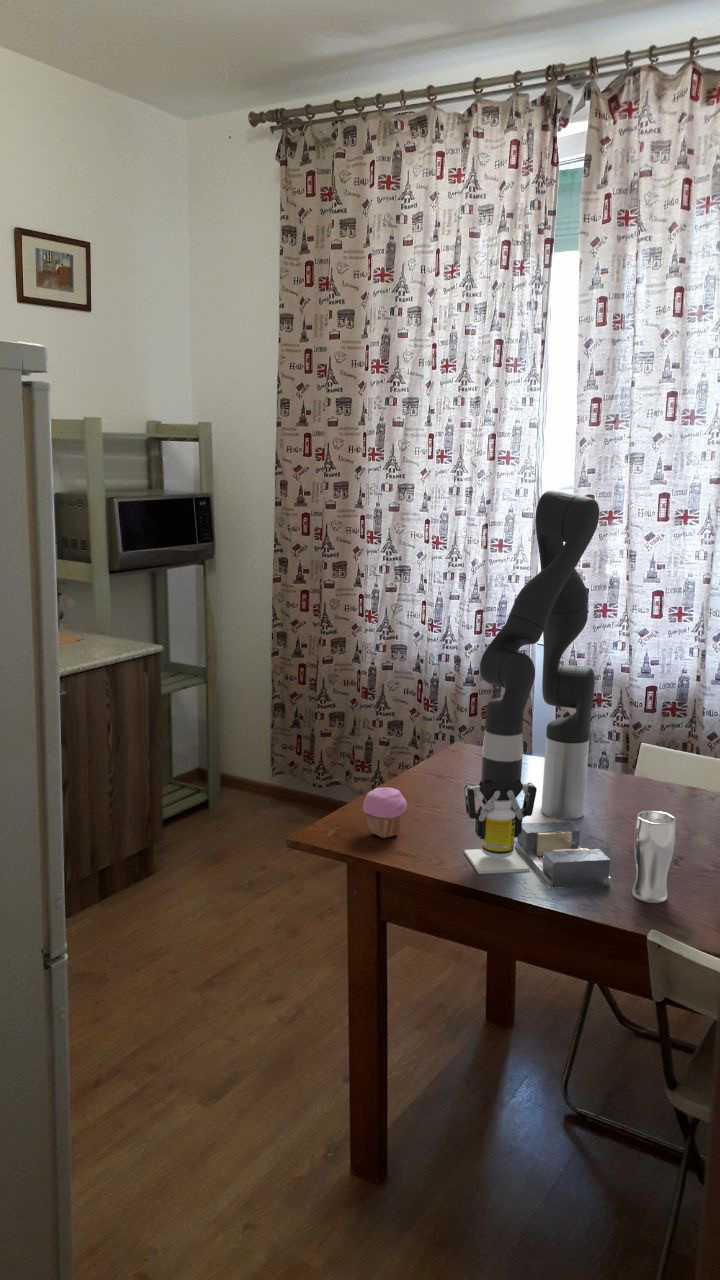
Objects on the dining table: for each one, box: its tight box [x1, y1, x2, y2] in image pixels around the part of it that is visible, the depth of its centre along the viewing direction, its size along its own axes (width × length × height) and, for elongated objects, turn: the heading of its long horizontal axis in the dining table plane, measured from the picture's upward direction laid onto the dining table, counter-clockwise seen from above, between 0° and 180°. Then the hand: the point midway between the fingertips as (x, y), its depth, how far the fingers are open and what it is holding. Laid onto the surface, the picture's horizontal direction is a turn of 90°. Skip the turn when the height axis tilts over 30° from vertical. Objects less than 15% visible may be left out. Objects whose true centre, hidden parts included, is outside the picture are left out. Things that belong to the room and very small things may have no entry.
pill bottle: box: [481, 800, 516, 858], centre depth 192 cm, size 6×6×11 cm
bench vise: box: [514, 820, 612, 889], centre depth 192 cm, size 19×12×5 cm, turn 10°
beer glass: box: [632, 810, 677, 904], centre depth 179 cm, size 7×7×15 cm
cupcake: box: [362, 787, 408, 839], centre depth 204 cm, size 9×9×10 cm
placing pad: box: [463, 848, 531, 875], centre depth 193 cm, size 10×10×1 cm
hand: (497, 836), depth 192 cm, fingers closed on pill bottle, 6 cm apart
